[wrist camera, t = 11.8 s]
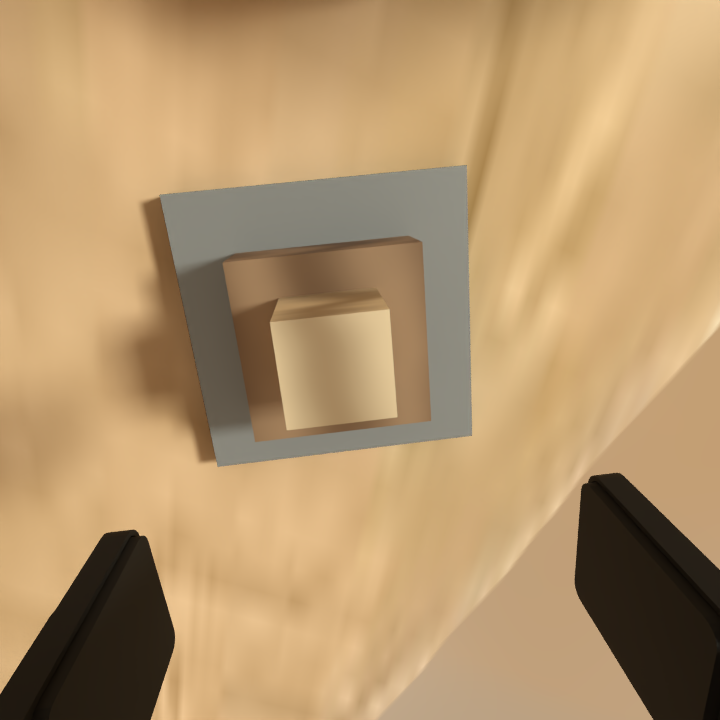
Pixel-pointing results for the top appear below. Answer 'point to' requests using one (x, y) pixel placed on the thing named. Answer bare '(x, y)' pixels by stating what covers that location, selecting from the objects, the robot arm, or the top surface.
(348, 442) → the board
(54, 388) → the top surface
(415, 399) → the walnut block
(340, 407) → the oak cube
